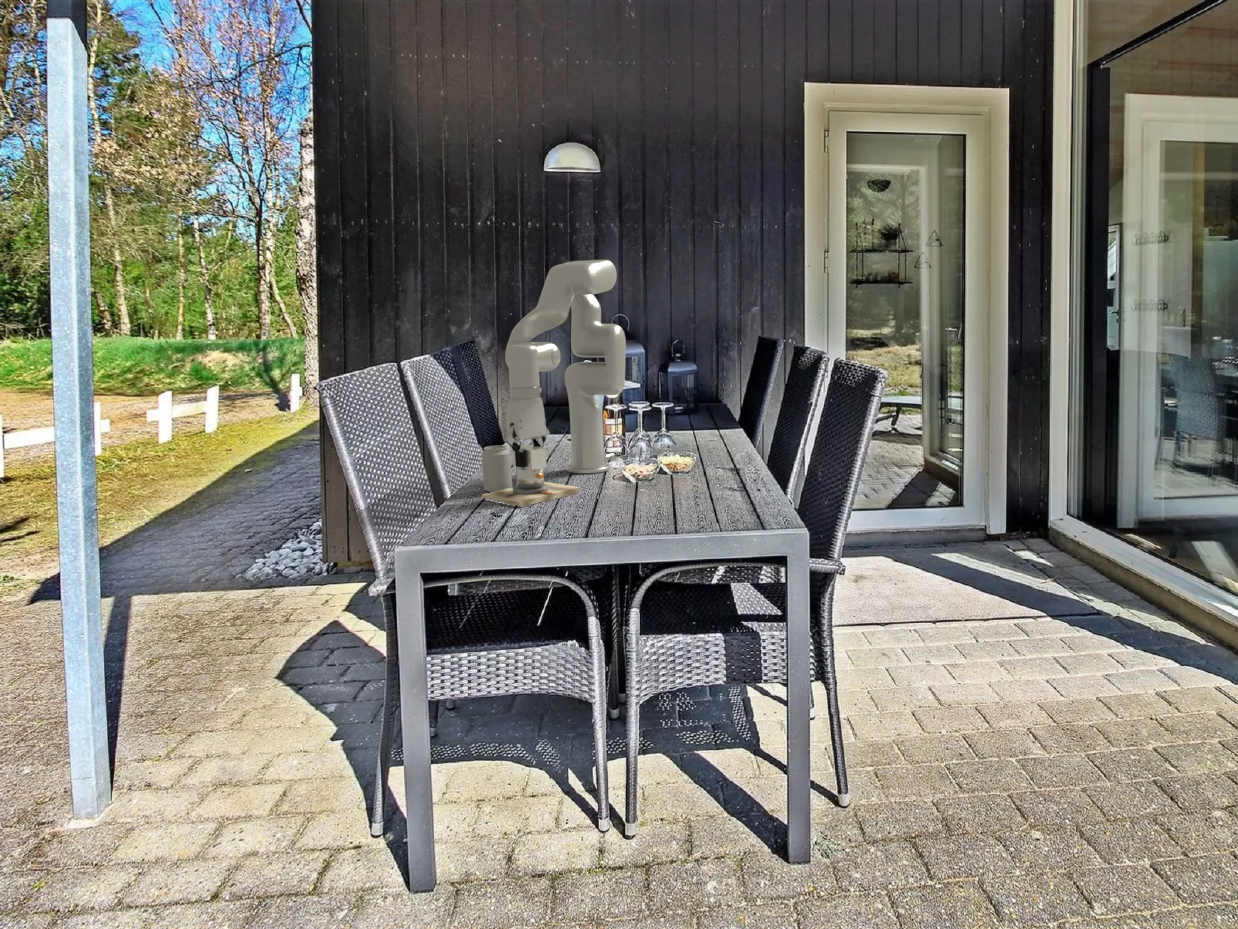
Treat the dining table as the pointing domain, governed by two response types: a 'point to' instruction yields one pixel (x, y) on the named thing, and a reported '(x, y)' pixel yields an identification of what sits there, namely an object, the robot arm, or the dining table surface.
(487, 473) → the can
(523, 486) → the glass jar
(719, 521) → the dining table surface
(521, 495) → the base plate
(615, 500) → the dining table surface
